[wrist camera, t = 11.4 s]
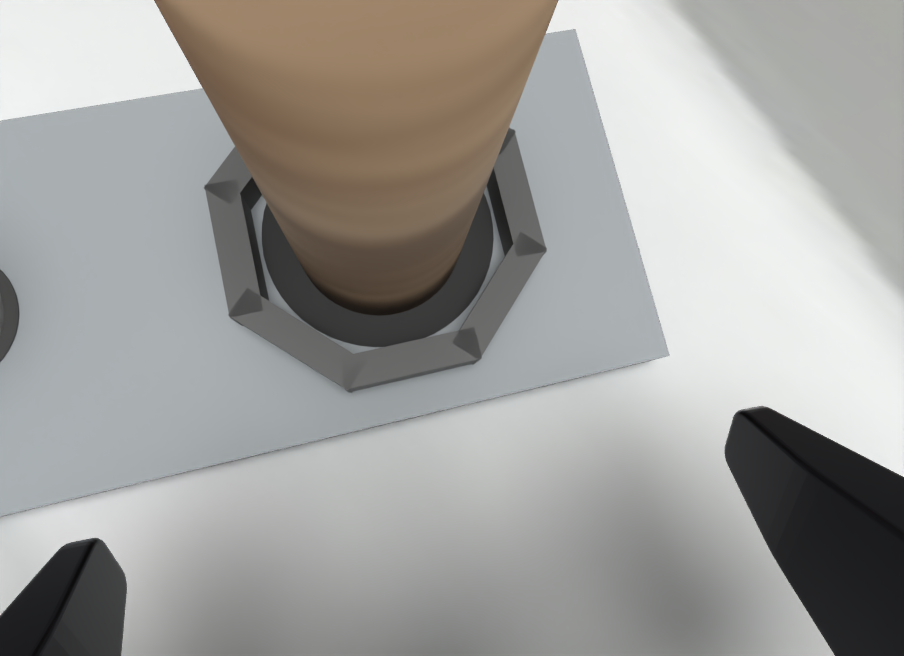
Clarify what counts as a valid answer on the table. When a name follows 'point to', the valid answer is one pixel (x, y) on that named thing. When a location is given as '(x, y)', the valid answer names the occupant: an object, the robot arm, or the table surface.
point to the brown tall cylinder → (366, 124)
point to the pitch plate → (280, 293)
